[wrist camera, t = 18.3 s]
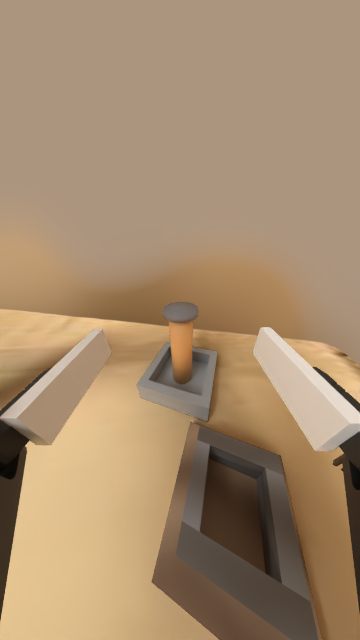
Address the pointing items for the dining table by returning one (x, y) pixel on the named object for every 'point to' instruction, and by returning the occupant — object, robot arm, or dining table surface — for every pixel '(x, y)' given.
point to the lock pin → (181, 338)
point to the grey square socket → (235, 543)
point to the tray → (176, 396)
